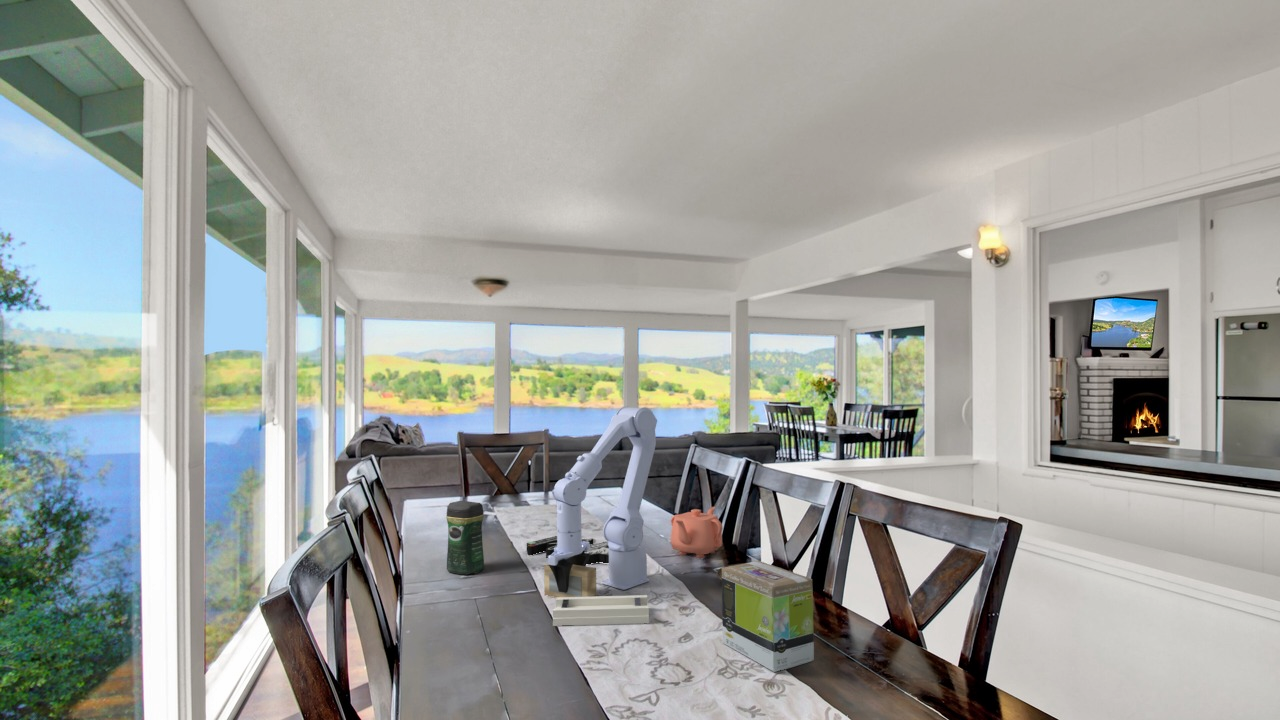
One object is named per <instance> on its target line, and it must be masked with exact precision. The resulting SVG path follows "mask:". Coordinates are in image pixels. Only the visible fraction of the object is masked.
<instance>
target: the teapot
mask: <svg viewBox="0 0 1280 720" xmlns="http://www.w3.org/2000/svg"><path fill="white" fill-rule="evenodd" d="M715 509H716V506H711V507H710V508H709V509H708V510H707V513H706V512H705V513H704V512H702V509H697V508H694V509H691V510H690V511H687V512H684V513H680V514H679V513H678V514H675V515H673V516H672V517H671V519H670V524H671V532H670V544H671V548H672V549H673V550H675V551H679V552H678V553H677V556H681V555H683V556H687V554H688V553H689V554H690V553H691V554H695V558H696V559H698V558H703V559H705V558H706V556H705V555H707V554H708V555H709V553H714V554H716V551H717V550H719V549H720V548H721V547H722V545H723V529H724V528H723V523H721V521H720V520H719V517H718V515H716V514H714V512H715Z"/></svg>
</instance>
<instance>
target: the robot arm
mask: <svg viewBox="0 0 1280 720" xmlns="http://www.w3.org/2000/svg"><path fill="white" fill-rule="evenodd" d="M657 423H658V419H657V417H656V415H655V414H654V413H653V411H652V410H651V409H650V408H648V407H631V406H630V407H629V406H622V407H620V408H619V409H617V411H616V412H615V414H614V415H613V416H612V417H611V420H610V422H609V425H608V426H607V428H606V429H605V431H604V432H603V434H602V435H601V437H600V438H599V440H598V441H597V443H596V444H595V445H594V446H593V448H592V450H591V451H590V452H585V453H583V454H582V455H579V456H577V458H576V462H575V464H574V465H573V466H572V467H571V469H570V470H569V471H567V472H566V473H565V475H564V478H562V479H559V480H558V481H557V482H556V483H555V485H554V487H553V489H552V490H551V495H552V497H553V499H554V501H555V502H556V531H557V532H556V536H557V547H555V548H554V552H553V553H552V554H551V555H549V556H548V559H547V565H549V567H550V568H551V570H552V572H553V574H554V576H555V579H556V583H557V587H558V591H559V592H563V593H566V592H567V591H568V585H569V575H570V571H571V568H572V565H580V566H587V565H586V564H587V562H588V560H589V558H590V554H589V553H585V551H588V550H590V548H589V542H582V539H583V538H582V502H583V501H584V500H585V499H586V497H587V490H588V488H589V486H590V484H591V483H592V482H593V481H594V479H595V478H596V477H597V475H598V474H599V473H600V472H601V470H602V468H603V465H602V463H603V462H602V461H603V460H604V459H605V458H606V456H607V455H608V454H609V453H610V452H611V450H612V449H614V447H615V446H616V445H617V444H618V443H619V442H620V441H621V439H623V438H626V437H627V438H629V441H630V443H631V444H632V446H633V447H632V450H631V454H630V459H629V463H628V466H627V470H626V474H625V478H624V481H623V485H622V489H621V494H620V497H619V502H618V505H617V506H616V507H615V508H614V509H612V510H611V511H610V515H609V517H608V519H607V520H606V521H605V523H604V525H603V529H602V534H603V535H602V536H603V538H604V540H605V541H606V542H608V546H609V565H608V579H605V580H602V581H601V584H603V585H606V586H609V587H613V588H615V589H618V590H622V591H623V590H624V591H626V590H627V589H631V588H633V587H636V586H639V585H642V584H646V583H647V582H650V579H649V578H647V577H648V568H647V567H648V566H647V563H648V562H647V561H648V560H647V559H648V558H647V552H646V550H645V548H644V546H642V545H641V544H642V543H643V539H644V531H643V530H644V527H643V526H644V522H645V520H644V518H643V517H642V515H641V513H640V509H641V506H642V505H641V504H642V501H643V497H644V494H645V490H646V486H647V481H648V478H649V473H650V471H651V465H652V461H653V458H654V453H655V449H656V445H657V438H656V427H657ZM566 559H568V561H569V563H567V561H566Z"/></svg>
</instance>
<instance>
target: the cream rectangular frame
mask: <svg viewBox="0 0 1280 720" xmlns="http://www.w3.org/2000/svg"><path fill="white" fill-rule="evenodd" d="M552 616H553V617H552V627H563V626H562V625H574V626H603V625H608V626H609V625H634V624H635V625H639V624H642V625H643V624H644V623H647V624H650V607H649V605H648V595H647V594H643V595H641V594H639V595H638V594H637V595H635V594H633V595H603V596H602V595H601V596H598V595H596V596H594V597H555V607H554V608H553V609H552Z"/></svg>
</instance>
